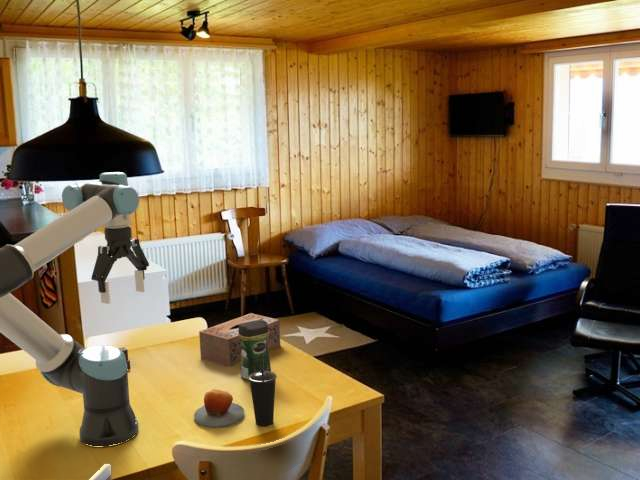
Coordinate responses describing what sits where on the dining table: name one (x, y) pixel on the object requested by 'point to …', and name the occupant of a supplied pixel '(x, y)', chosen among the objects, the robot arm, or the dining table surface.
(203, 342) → the tissue box cover
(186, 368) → the dining table surface
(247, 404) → the dining table surface
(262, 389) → the drinking cup
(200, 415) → the slate plate
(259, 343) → the coffee jar
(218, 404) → the fruit
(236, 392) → the dining table surface
